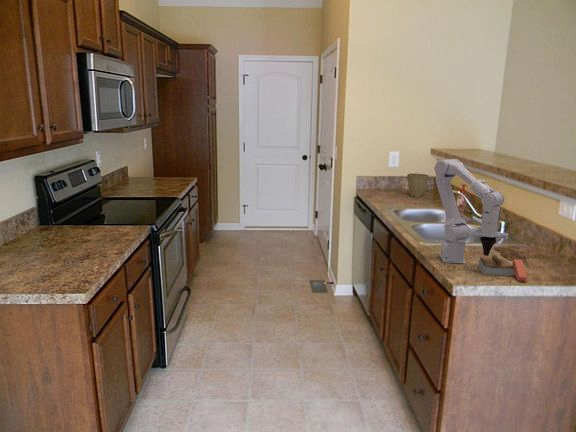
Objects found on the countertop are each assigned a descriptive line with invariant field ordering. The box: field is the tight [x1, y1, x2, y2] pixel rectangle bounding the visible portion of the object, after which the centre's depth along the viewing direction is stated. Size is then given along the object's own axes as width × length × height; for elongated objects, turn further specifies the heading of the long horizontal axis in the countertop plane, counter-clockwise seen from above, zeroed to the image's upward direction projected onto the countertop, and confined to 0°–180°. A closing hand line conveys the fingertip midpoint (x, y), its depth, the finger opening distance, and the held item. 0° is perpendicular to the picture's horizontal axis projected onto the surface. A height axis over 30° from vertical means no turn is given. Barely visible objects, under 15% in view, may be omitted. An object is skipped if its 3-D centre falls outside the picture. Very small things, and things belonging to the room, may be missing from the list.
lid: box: [479, 254, 513, 269], centre depth 183 cm, size 10×9×2 cm
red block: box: [512, 259, 529, 282], centre depth 177 cm, size 3×9×3 cm
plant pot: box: [407, 172, 430, 198], centre depth 333 cm, size 15×15×16 cm
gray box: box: [477, 259, 516, 277], centre depth 184 cm, size 14×9×3 cm, turn 83°
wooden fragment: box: [492, 245, 530, 266], centre depth 205 cm, size 26×11×1 cm, turn 177°
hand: (485, 255), depth 183 cm, fingers closed
